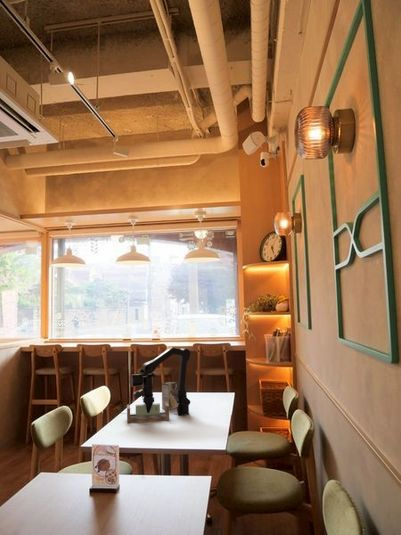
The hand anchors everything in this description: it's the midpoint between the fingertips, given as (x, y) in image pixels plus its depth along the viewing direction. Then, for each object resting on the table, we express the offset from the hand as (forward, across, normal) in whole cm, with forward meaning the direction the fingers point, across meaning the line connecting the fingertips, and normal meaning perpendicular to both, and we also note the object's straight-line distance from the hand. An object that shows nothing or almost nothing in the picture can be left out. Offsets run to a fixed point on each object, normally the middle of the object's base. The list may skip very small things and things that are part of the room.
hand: (148, 412), depth 248 cm
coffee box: (+4, -27, +16) cm, 32 cm away
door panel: (+2, 0, 0) cm, 2 cm away
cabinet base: (+4, 0, 0) cm, 4 cm away
